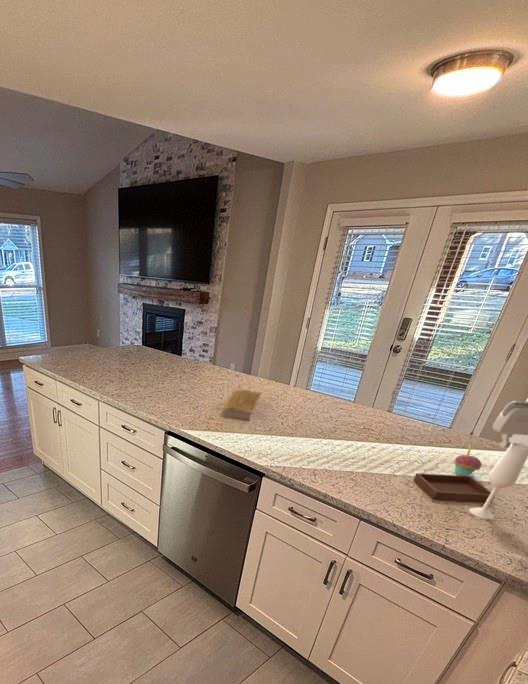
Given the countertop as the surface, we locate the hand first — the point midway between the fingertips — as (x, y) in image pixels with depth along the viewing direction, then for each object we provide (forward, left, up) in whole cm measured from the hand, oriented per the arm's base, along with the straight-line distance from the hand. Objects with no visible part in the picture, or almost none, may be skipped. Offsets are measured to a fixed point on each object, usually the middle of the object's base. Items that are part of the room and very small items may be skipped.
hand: (519, 448), depth 122 cm
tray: (+2, -14, -23) cm, 27 cm away
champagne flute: (0, 0, -23) cm, 23 cm away
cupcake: (-11, -29, -23) cm, 39 cm away
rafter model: (+64, -92, -23) cm, 114 cm away
